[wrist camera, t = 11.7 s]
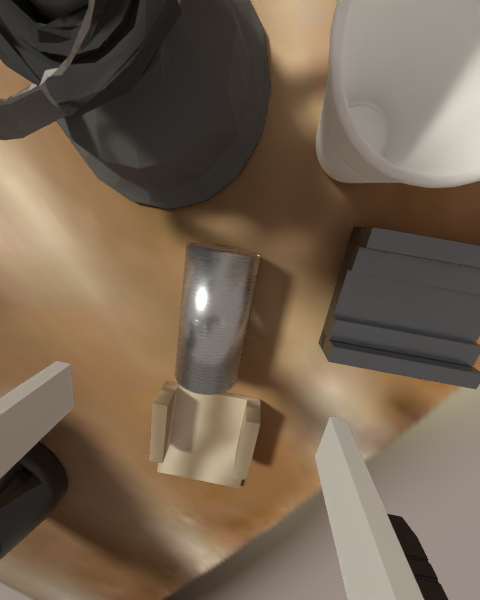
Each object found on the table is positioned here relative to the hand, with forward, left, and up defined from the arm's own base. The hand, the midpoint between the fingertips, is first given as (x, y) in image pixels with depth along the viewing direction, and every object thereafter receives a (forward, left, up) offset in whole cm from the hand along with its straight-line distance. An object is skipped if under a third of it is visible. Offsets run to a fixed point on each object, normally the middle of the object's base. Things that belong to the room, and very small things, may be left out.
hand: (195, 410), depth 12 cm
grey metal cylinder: (0, +1, -13) cm, 13 cm away
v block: (+16, +5, -13) cm, 21 cm away
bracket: (0, -16, -13) cm, 20 cm away
